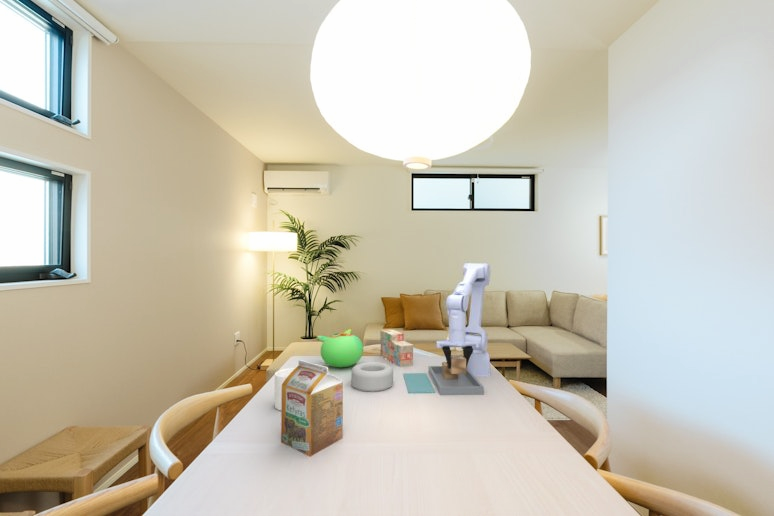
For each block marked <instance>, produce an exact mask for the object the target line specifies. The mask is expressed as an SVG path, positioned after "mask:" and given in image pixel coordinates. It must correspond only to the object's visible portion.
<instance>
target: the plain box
mask: <svg viewBox="0 0 774 516" xmlns="http://www.w3.org/2000/svg"><path fill="white" fill-rule="evenodd" d="M441 366H442V376H443V377H444V379H458V374H451V372H450V371H449V368H448V366H447V361H443V362H441Z"/></svg>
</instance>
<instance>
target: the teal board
mask: <svg viewBox="0 0 774 516" xmlns="http://www.w3.org/2000/svg"><path fill="white" fill-rule="evenodd" d="M402 374H403V375H402V376H403V379H404V382H405V386H406V390H407V393H408V394H436V390H435V388H434V387H433V385H432V381H431V380H430V378H429V376H428V374H427V372H419V373H418V372H414V373H413V372H409V373H407V372H406V373H405V372H403V373H402Z"/></svg>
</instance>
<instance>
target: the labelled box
mask: <svg viewBox="0 0 774 516" xmlns="http://www.w3.org/2000/svg"><path fill="white" fill-rule="evenodd" d="M449 371H450V372H451V374H466V358H465V357H464V356H463V354H459V355H457V354H453V355H452V354H451V369H449Z"/></svg>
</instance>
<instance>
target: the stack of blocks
mask: <svg viewBox="0 0 774 516" xmlns="http://www.w3.org/2000/svg"><path fill="white" fill-rule="evenodd" d="M379 333H380V337H379V338H380V339H379V340H380V357H382V358H383V359H385V358H386V359H387V361H388V360H389V362H390V361H391V362H392V364H393V363H394V364H393V365H395V366H398V367H399V368H402V367H411V366H413V364H414V360H413V358H414V344H412V343H410V342H407V341H405V340H404V339H405V338H404V333H402V332H400V331H398V330H396V329H393V328H391V329H390V328H389V329H380V332H379ZM386 359H385V360H386ZM391 362H390V363H391Z"/></svg>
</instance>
